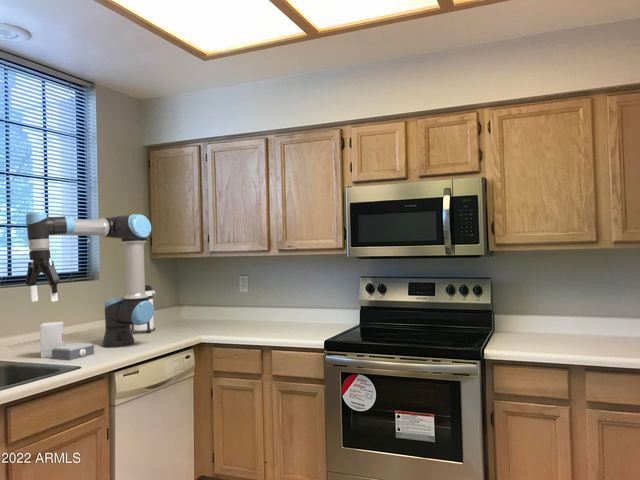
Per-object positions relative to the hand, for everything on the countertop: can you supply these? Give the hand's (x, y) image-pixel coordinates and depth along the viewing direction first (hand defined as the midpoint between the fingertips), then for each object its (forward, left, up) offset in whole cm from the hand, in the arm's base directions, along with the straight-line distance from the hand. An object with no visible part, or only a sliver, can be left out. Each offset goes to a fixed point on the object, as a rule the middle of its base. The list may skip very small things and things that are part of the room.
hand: (44, 301), depth 211 cm
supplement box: (-19, -21, -28) cm, 40 cm away
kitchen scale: (-20, -9, -27) cm, 35 cm away
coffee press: (-80, -26, -28) cm, 89 cm away
